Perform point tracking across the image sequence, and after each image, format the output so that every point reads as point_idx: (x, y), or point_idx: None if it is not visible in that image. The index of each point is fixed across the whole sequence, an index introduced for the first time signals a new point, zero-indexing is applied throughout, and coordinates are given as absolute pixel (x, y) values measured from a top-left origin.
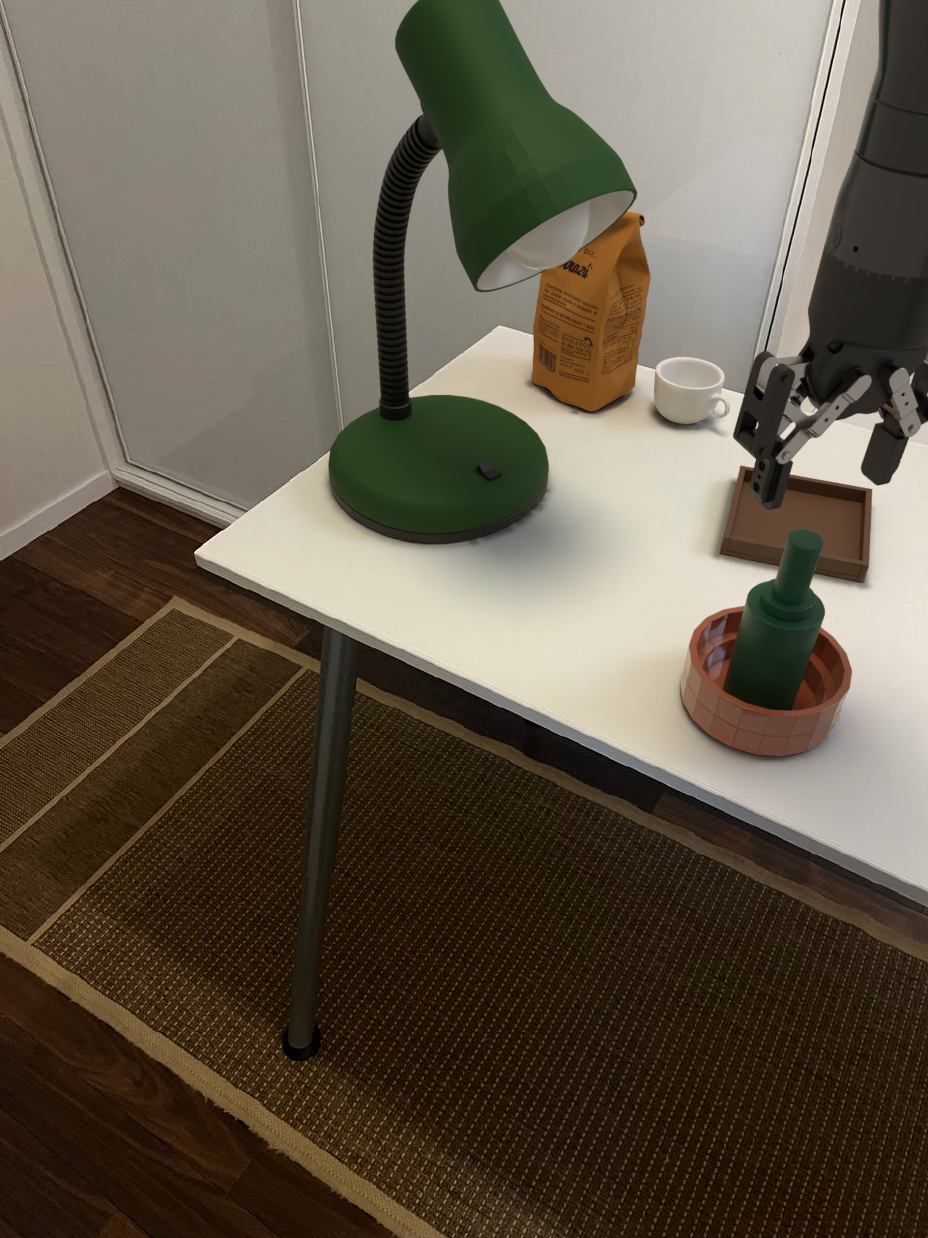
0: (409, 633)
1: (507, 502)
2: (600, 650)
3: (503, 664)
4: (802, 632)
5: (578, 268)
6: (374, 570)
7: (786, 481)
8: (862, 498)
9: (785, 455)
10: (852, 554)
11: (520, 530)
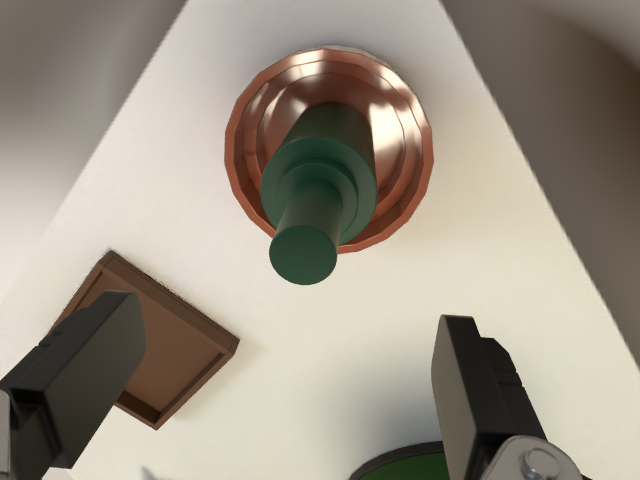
0: (613, 361)
1: (430, 470)
2: (446, 271)
3: (555, 292)
4: (328, 136)
5: None
6: (585, 440)
7: (465, 372)
8: None
9: (557, 470)
10: (101, 287)
11: (416, 434)
